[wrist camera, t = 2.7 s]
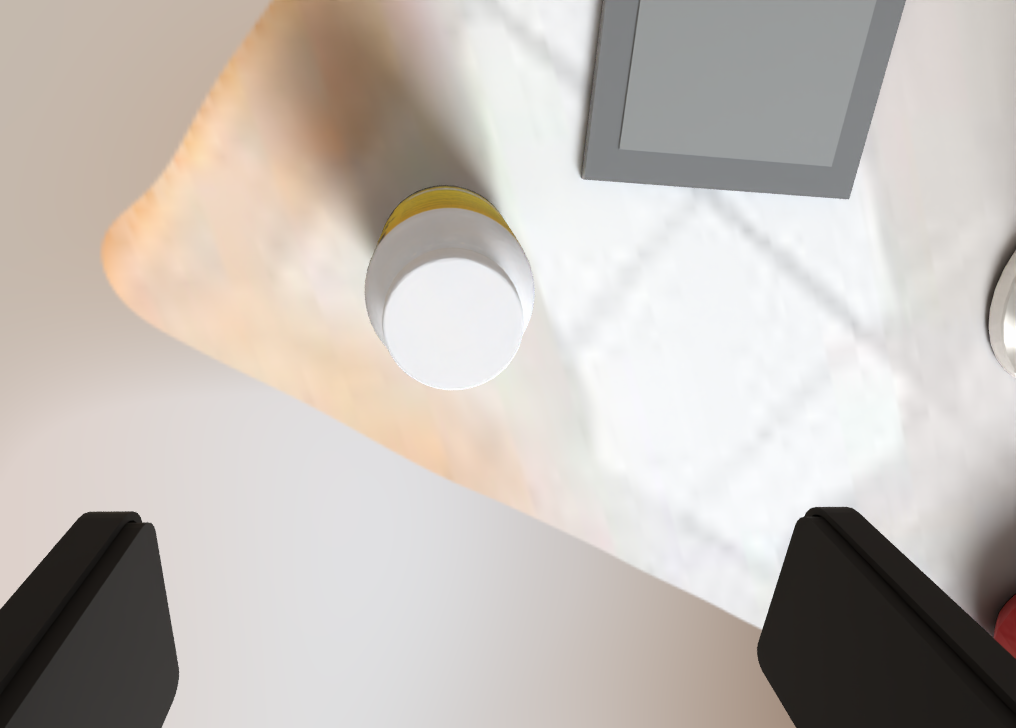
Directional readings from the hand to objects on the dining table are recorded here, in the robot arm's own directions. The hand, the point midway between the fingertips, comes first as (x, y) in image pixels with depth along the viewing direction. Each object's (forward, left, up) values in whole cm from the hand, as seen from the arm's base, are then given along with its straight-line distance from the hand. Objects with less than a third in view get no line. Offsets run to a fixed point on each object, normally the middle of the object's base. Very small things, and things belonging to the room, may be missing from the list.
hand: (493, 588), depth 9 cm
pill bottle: (0, 0, -24) cm, 24 cm away
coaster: (-13, -11, -23) cm, 29 cm away
